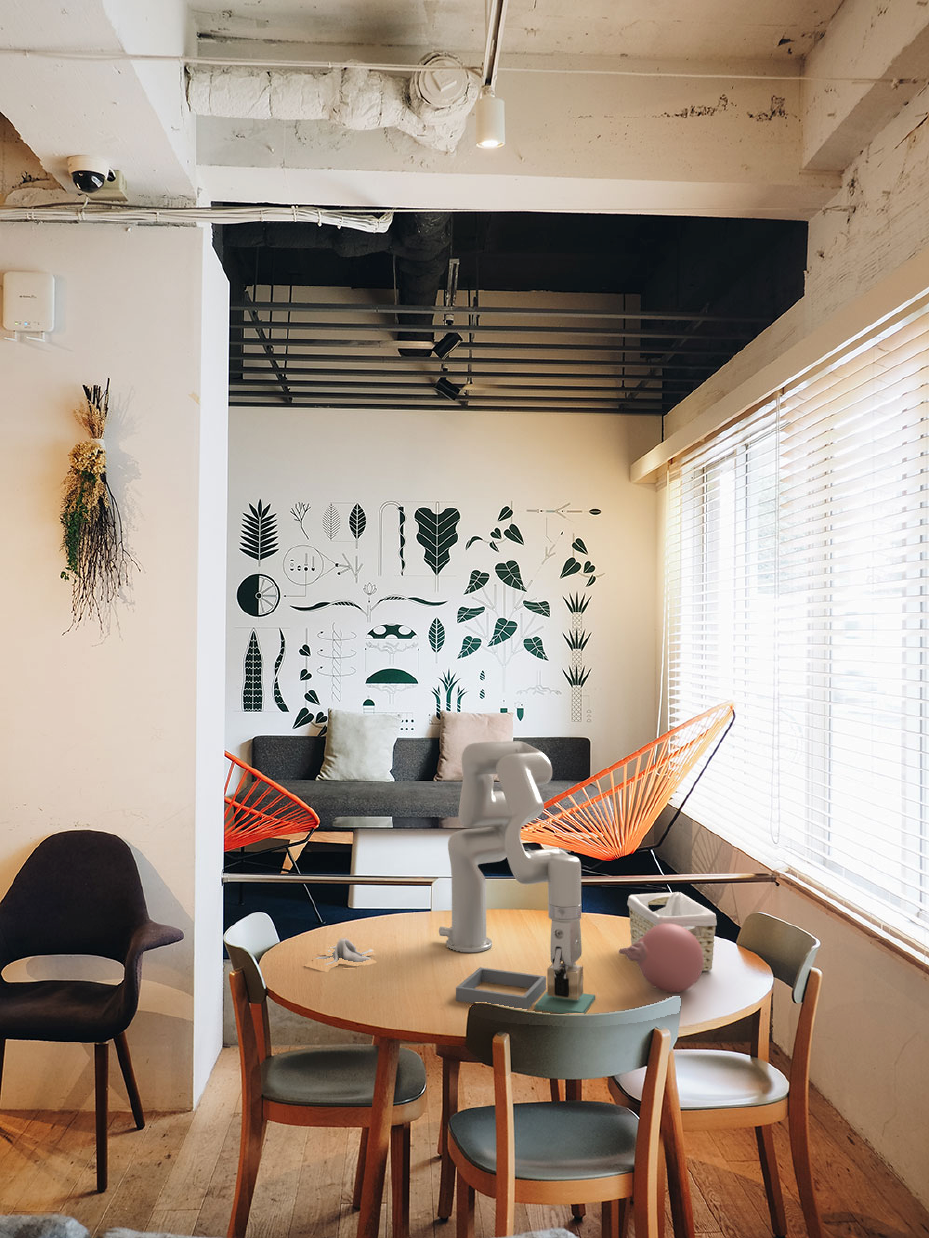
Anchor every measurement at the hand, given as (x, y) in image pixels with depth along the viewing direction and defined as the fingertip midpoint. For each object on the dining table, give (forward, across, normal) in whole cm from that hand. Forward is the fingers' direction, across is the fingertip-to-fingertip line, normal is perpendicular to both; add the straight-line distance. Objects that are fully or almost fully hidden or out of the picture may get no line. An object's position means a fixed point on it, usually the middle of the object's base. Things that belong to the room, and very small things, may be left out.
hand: (565, 990), depth 209 cm
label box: (+1, 0, 0) cm, 1 cm away
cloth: (+4, +8, +61) cm, 62 cm away
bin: (+3, 0, +15) cm, 16 cm away
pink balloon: (+3, +17, -19) cm, 25 cm away
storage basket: (+3, +40, -17) cm, 44 cm away
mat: (+3, 0, 0) cm, 3 cm away
